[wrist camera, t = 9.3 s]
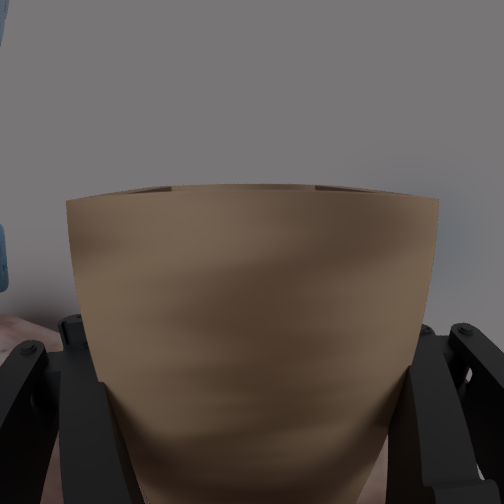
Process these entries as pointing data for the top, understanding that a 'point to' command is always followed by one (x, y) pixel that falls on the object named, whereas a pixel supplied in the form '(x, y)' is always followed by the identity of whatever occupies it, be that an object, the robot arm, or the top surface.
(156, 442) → the brown tall open box
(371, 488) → the top surface
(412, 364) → the robot arm
